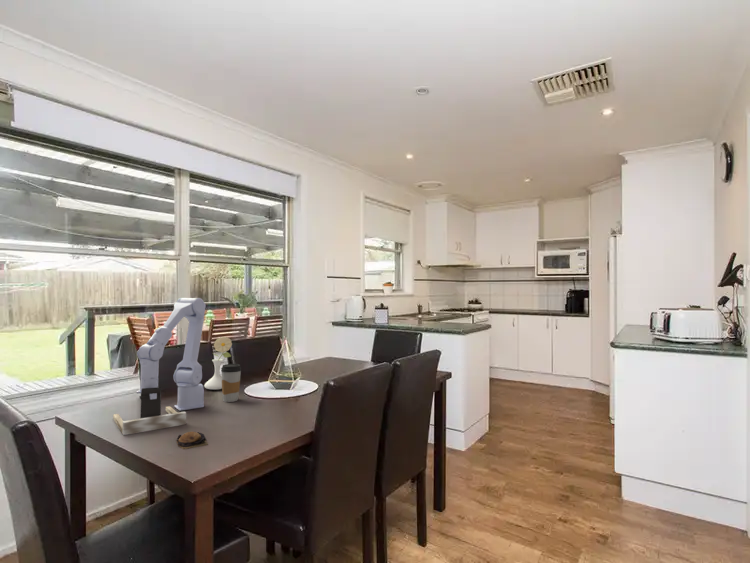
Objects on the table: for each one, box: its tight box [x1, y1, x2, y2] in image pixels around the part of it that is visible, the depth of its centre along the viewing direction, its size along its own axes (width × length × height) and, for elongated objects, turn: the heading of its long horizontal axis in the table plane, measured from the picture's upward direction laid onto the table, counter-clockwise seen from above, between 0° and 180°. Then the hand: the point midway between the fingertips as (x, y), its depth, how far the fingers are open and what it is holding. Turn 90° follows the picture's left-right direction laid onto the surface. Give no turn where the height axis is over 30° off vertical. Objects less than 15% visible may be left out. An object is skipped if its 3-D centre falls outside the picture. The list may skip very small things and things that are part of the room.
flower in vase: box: [203, 336, 233, 391], centre depth 204 cm, size 13×11×25 cm
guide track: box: [112, 406, 187, 436], centre depth 153 cm, size 19×22×4 cm
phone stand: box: [139, 386, 162, 419], centre depth 150 cm, size 9×6×12 cm, turn 23°
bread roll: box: [175, 431, 209, 450], centre depth 133 cm, size 11×8×4 cm
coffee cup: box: [220, 363, 242, 403], centre depth 183 cm, size 8×8×15 cm
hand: (148, 415), depth 153 cm, fingers closed, pressing on phone stand
